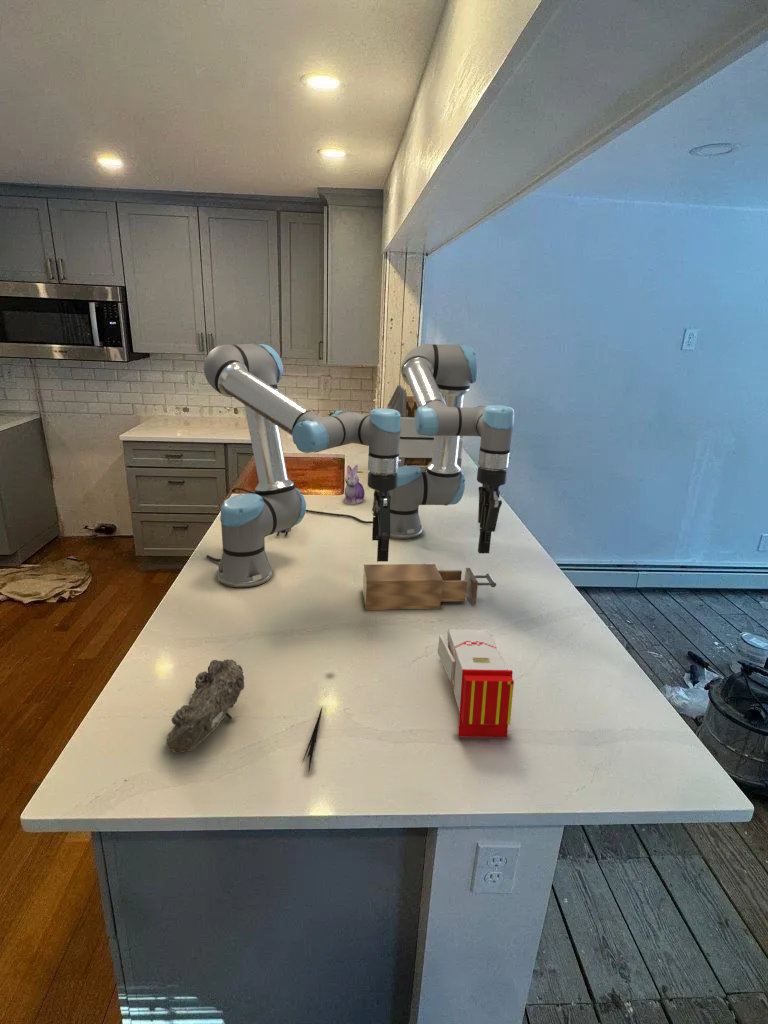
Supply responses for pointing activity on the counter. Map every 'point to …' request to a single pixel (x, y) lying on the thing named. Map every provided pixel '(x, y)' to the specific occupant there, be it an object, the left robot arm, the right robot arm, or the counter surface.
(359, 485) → the figurine
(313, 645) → the counter surface
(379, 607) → the cabinet
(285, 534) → the figurine character
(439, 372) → the right robot arm
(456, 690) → the toy
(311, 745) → the feather
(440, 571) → the drawer
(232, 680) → the fossil
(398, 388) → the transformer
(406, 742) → the counter surface
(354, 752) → the counter surface
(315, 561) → the counter surface
